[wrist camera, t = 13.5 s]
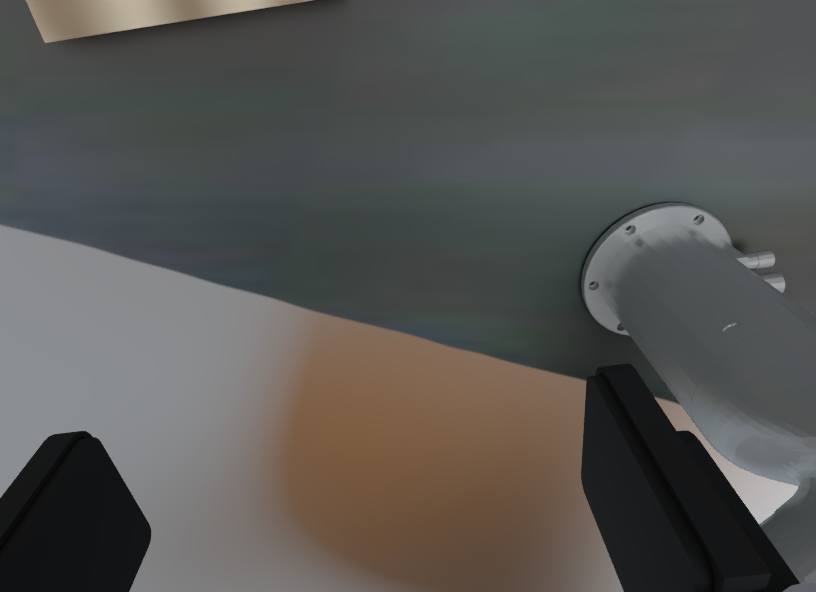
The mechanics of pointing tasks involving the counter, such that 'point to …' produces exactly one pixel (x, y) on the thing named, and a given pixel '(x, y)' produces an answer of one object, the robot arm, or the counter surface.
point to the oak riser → (128, 14)
